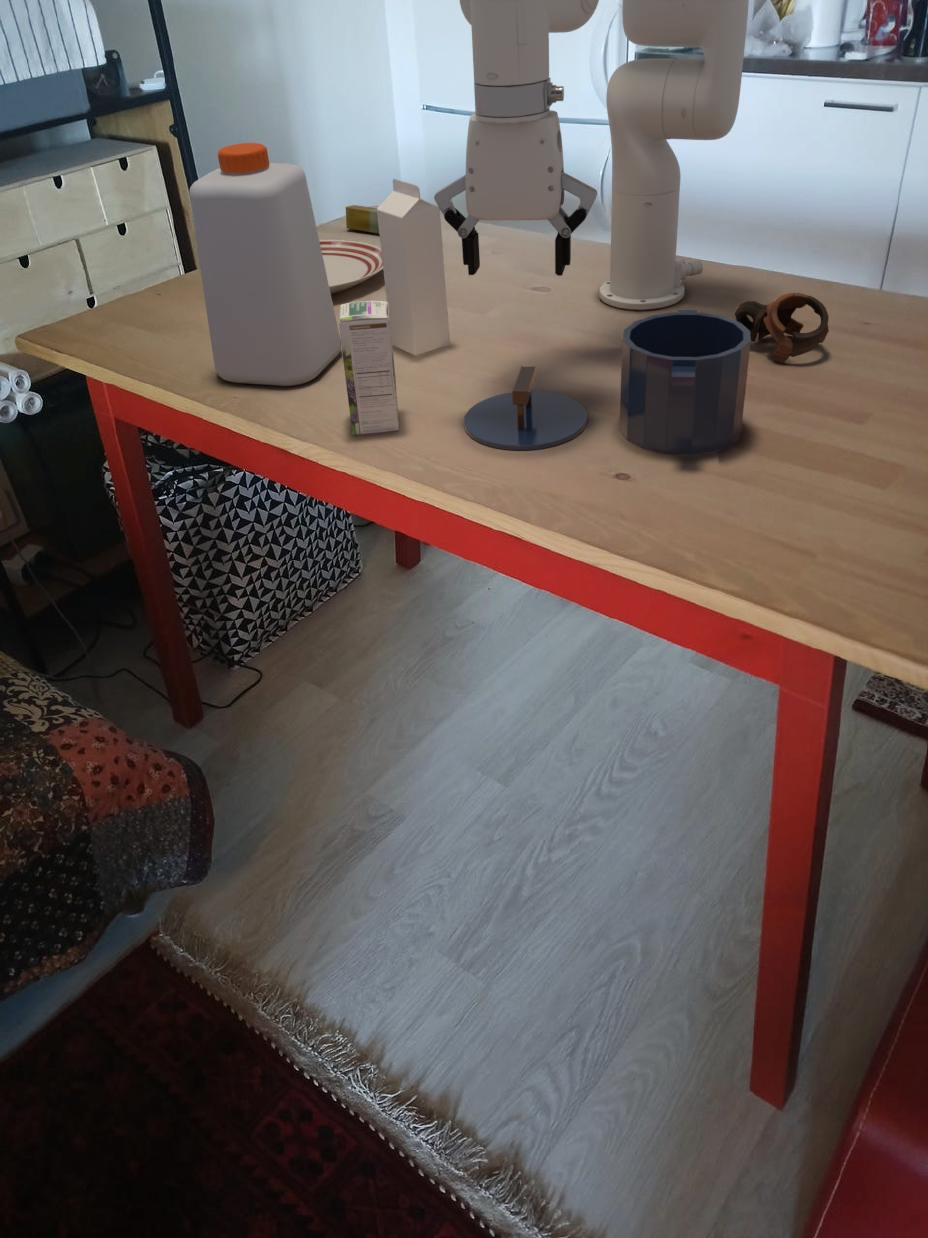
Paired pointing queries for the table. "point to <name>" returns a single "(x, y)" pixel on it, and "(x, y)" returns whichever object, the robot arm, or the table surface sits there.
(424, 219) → the milk
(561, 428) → the lid
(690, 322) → the crock
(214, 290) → the plastic bottle
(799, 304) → the rusty metal shackles
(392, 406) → the syrup box
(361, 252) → the dinner plate
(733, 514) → the table surface
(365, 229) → the medication box
